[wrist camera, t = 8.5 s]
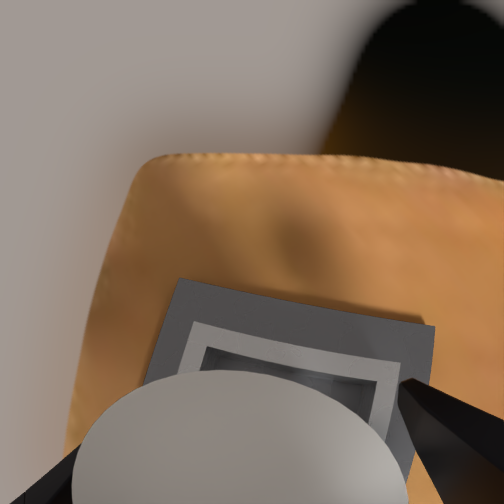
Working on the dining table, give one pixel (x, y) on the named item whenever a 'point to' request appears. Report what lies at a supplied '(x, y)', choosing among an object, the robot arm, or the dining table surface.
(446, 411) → the robot arm
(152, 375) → the duct collar
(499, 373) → the dining table surface
